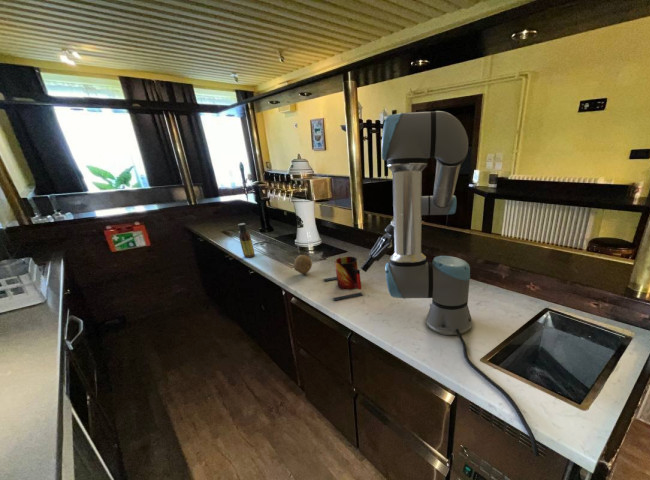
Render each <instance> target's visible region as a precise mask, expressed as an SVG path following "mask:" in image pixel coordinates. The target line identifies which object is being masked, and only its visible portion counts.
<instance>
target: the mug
mask: <svg viewBox="0 0 650 480" xmlns="http://www.w3.org/2000/svg"><path fill="white" fill-rule="evenodd" d="M334 265H335V272H336V273H335V274H336V277H337V280H336V281H337V288H338V289H340V290H354V289H357V290H362V282H361V271H360V269H358V268H359V267H358V259H357V257H355V256H342V257H338V258H336V259H335V260H334Z"/></svg>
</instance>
